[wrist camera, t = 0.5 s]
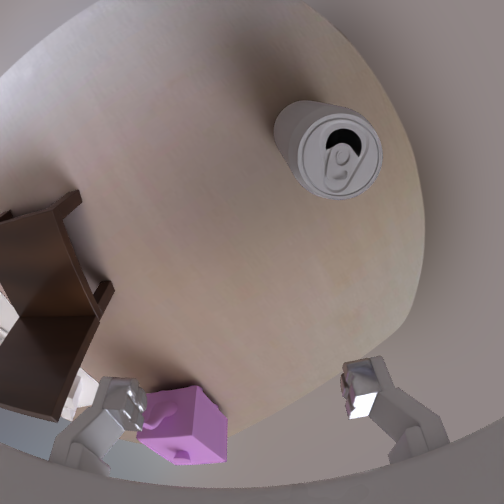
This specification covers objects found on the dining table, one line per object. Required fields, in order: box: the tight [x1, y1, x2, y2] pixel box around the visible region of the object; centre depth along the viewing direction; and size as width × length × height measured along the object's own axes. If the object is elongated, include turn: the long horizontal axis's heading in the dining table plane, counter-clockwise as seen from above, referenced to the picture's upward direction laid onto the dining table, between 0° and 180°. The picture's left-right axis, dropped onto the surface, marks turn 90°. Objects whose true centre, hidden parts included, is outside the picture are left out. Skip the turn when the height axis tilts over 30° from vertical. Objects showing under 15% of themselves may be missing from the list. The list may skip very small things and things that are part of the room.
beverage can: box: [274, 100, 383, 200], centre depth 23 cm, size 6×6×12 cm
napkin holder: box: [61, 368, 99, 421], centre depth 46 cm, size 15×11×6 cm
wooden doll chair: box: [0, 190, 115, 423], centre depth 25 cm, size 14×14×20 cm
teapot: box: [136, 385, 228, 465], centre depth 43 cm, size 20×10×12 cm, turn 20°
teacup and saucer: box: [0, 328, 8, 345], centre depth 41 cm, size 9×8×4 cm
